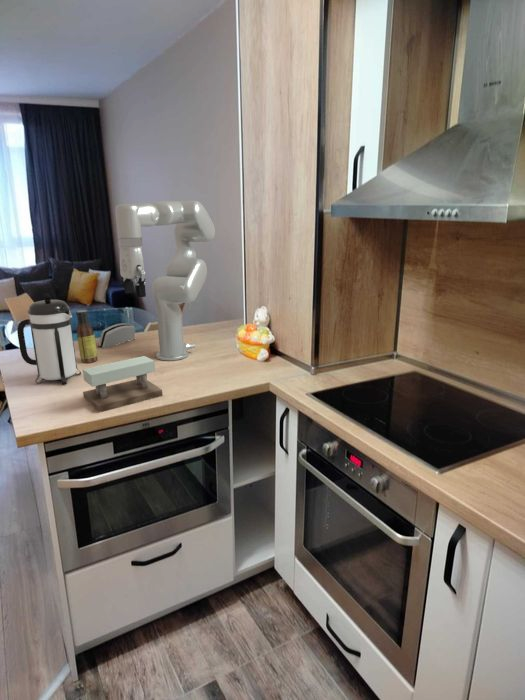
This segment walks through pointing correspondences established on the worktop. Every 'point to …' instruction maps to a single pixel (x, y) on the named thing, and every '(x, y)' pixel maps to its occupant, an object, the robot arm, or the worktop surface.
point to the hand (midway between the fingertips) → (135, 295)
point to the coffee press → (50, 340)
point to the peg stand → (122, 393)
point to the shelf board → (118, 370)
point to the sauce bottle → (86, 338)
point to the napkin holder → (116, 335)
